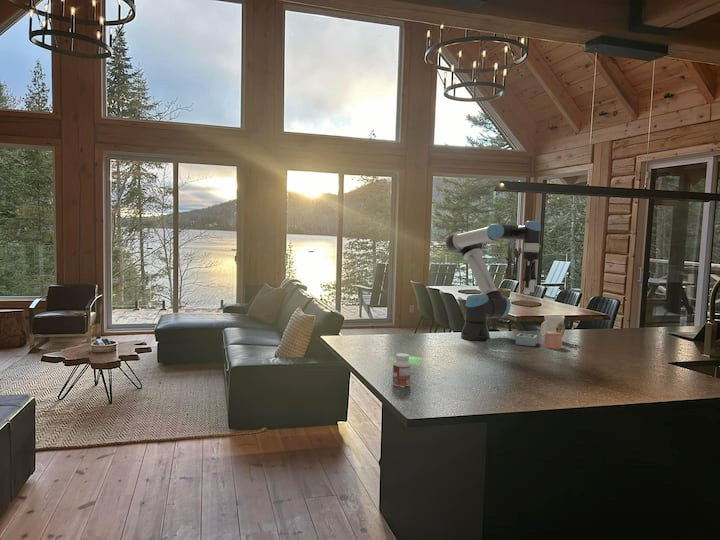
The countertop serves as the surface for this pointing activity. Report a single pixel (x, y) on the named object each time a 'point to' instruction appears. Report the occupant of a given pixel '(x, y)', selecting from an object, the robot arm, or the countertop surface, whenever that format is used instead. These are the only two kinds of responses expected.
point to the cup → (553, 340)
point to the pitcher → (553, 324)
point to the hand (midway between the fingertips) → (529, 293)
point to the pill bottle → (401, 370)
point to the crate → (526, 339)
